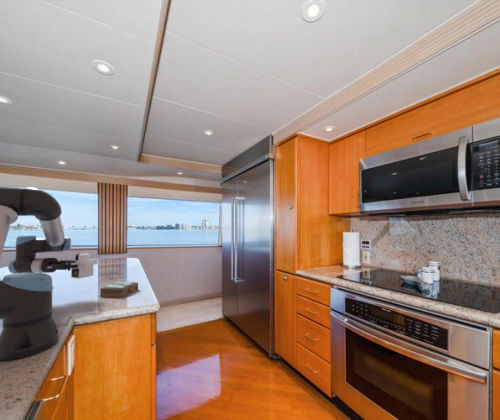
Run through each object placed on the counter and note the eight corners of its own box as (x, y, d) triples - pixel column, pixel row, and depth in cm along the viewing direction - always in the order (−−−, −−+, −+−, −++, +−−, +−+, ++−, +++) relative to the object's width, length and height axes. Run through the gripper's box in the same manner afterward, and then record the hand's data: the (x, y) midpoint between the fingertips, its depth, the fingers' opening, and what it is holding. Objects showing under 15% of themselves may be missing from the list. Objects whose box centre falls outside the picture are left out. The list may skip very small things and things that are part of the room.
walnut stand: (121, 297, 123) (121, 288, 123) (100, 296, 125) (100, 287, 125) (138, 289, 136) (138, 281, 136) (118, 288, 138) (118, 281, 138)
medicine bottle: (71, 277, 121) (71, 254, 121) (86, 274, 127) (86, 252, 128) (78, 278, 118) (78, 254, 118) (93, 275, 124) (93, 252, 124)
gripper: (61, 268, 132) (103, 266, 134) (27, 278, 110) (77, 275, 112) (61, 254, 132) (102, 253, 134) (27, 261, 110) (77, 259, 112)
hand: (91, 263), depth 123 cm, fingers closed on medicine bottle, 10 cm apart
